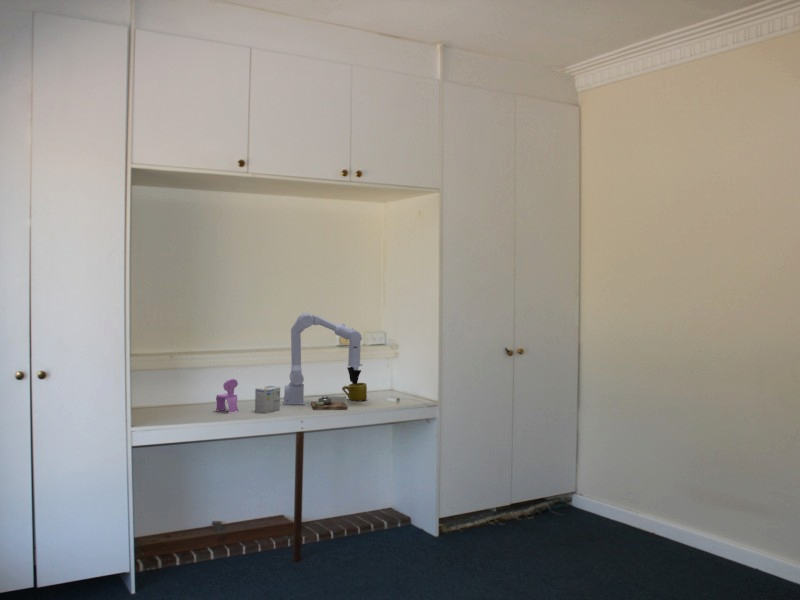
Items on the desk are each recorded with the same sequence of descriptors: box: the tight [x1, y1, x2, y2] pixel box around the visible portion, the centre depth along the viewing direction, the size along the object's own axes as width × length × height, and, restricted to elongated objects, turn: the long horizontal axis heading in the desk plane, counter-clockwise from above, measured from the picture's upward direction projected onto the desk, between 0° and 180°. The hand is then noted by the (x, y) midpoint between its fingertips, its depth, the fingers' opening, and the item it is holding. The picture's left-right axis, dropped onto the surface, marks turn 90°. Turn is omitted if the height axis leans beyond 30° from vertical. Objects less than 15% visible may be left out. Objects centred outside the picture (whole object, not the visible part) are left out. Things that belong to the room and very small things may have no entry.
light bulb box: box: [254, 385, 281, 414], centre depth 347 cm, size 11×7×11 cm, turn 152°
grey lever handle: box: [318, 395, 347, 405], centre depth 361 cm, size 13×6×3 cm, turn 101°
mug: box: [341, 382, 368, 402], centre depth 383 cm, size 12×10×10 cm
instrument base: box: [310, 400, 348, 411], centre depth 360 cm, size 16×14×3 cm
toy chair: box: [215, 378, 240, 414], centre depth 342 cm, size 8×9×15 cm
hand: (353, 382), depth 372 cm, fingers open, 7 cm apart
